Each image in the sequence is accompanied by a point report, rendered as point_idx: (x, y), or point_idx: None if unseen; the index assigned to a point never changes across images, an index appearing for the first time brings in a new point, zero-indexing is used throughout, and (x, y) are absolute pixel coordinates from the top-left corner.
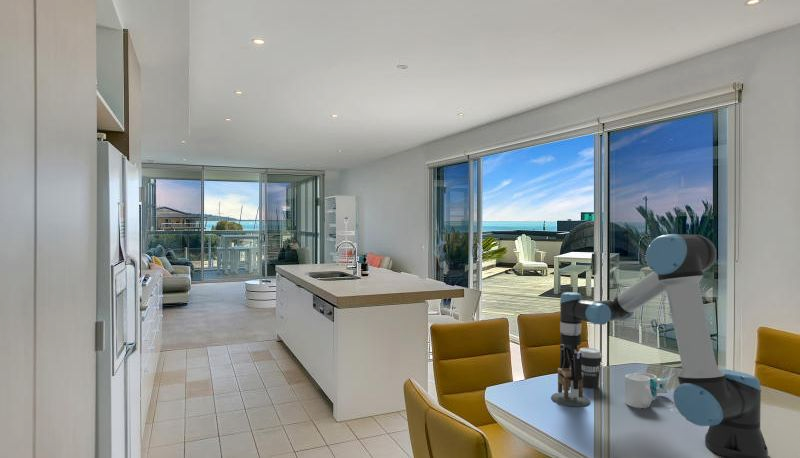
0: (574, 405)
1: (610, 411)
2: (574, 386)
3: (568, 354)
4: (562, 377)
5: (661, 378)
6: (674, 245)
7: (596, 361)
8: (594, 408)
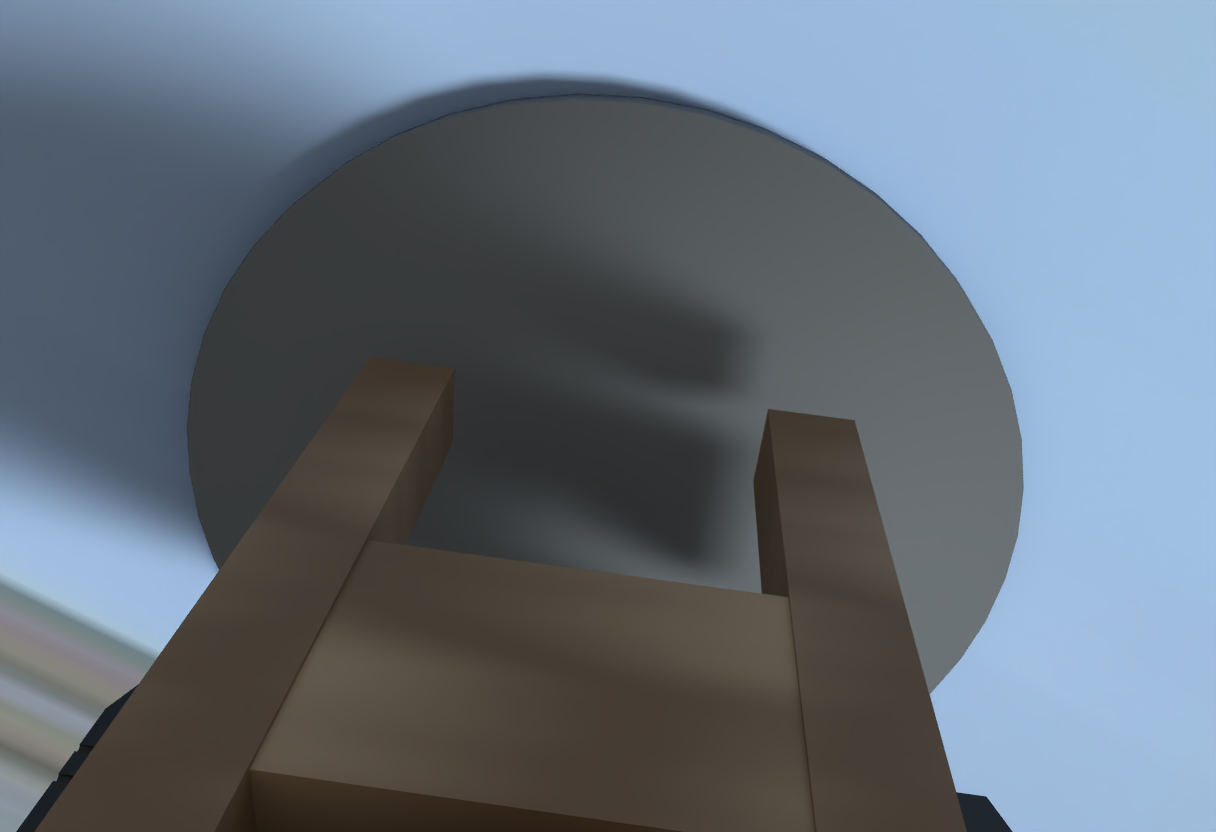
0: (193, 398)
1: (42, 787)
2: (92, 747)
3: None
4: (448, 781)
5: None
6: None
7: None
8: (152, 662)
